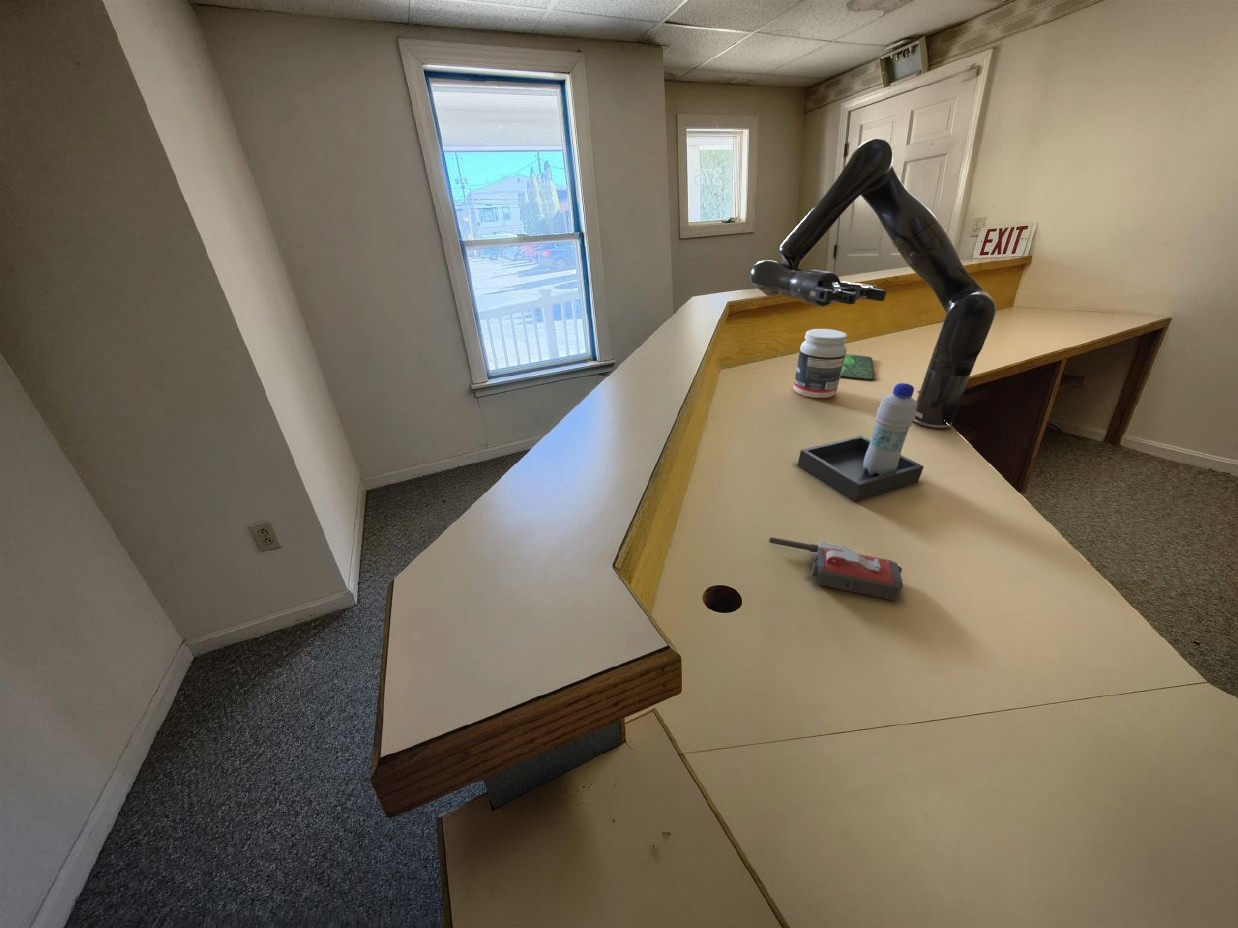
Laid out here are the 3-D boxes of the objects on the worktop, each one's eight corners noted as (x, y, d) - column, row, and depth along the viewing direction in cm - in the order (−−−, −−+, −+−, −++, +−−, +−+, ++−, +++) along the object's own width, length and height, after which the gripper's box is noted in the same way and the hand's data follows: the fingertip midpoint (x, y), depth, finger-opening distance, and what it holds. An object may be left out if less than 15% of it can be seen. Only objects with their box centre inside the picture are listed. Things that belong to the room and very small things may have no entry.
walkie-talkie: (895, 566, 74) (768, 541, 79) (904, 545, 71) (771, 521, 77) (907, 605, 66) (765, 575, 72) (916, 583, 64) (769, 554, 70)
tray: (856, 450, 108) (860, 435, 106) (917, 482, 96) (924, 466, 94) (797, 465, 102) (800, 449, 100) (854, 502, 90) (859, 484, 88)
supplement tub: (795, 383, 149) (805, 326, 140) (837, 388, 145) (851, 330, 135) (789, 396, 139) (800, 336, 130) (834, 402, 135) (849, 340, 125)
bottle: (899, 482, 94) (931, 391, 84) (864, 479, 95) (891, 388, 85) (889, 466, 99) (918, 379, 90) (856, 463, 101) (881, 377, 91)
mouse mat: (874, 380, 150) (875, 377, 150) (804, 373, 158) (805, 370, 157) (871, 358, 172) (871, 355, 171) (809, 352, 180) (810, 350, 179)
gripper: (793, 272, 105) (848, 281, 92) (839, 268, 110) (898, 276, 97) (787, 305, 109) (840, 318, 96) (832, 301, 113) (888, 312, 100)
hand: (869, 297), depth 96 cm, fingers open, 8 cm apart
